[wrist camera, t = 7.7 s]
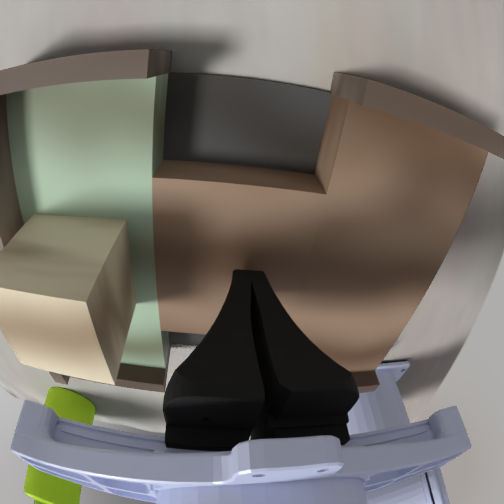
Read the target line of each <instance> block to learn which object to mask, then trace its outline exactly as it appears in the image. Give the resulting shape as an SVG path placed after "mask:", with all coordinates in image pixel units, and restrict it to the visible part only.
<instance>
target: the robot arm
mask: <svg viewBox="0 0 504 504" xmlns="http://www.w3.org/2000/svg"><path fill="white" fill-rule="evenodd" d="M409 366H410V363H409V362H408V361H403V362H394V363H383V364H380V365H379V366H378V367H377V369H376V370H375V372H376V375H377V378H378V380H379V383H380V385H379V386H378V388H377V389H376V390H375V391H374V392H365V393H359V391H358V387H357V384H356V382H355V379H354V377H353V375H352V373H351V372H350V371H348V370H347V369H345V368H344V367H342V366H341V365H339V364H338V363H336V362H335V361H334V360H332V359H331V358H330V357H329V356H327V355H326V354H325V353H324V352H322V351H321V350H320V349H319V348H318V347H317V346H316V345H315V344H314V343H313V342H312V341H311V340H310V339H309V338H308V337H307V336H306V335H305V334H304V333H303V332H302V331H301V329H300V328H299V327H298V326H297V325H296V323H295V322H294V321H293V320H292V318H291V317H290V315H289V314H288V313H287V311H286V310H285V308H284V307H283V305H282V304H281V302H280V300H279V299H278V297H277V296H276V294H275V292H274V290H273V289H272V287H271V285H270V283H269V281H268V279H267V277H266V275H265V273H264V272H263V271H254V270H240V269H235V270H234V271H233V273H232V282H231V286H230V289H229V292H228V294H227V297H226V300H225V302H224V304H223V306H222V308H221V310H220V312H219V314H218V316H217V318H216V320H215V321H214V323H213V325H212V326H211V328H210V330H209V331H208V332H207V334H206V335H205V337H204V338H203V340H202V341H201V342H200V344H199V345H198V346H197V347H196V348H195V350H194V351H193V352H192V353H191V354H190V355H189V357H188V358H187V359H186V360H185V361H184V362H183V363H182V364H181V365H180V366H179V367H178V368H177V369H176V370H175V371H174V373H173V375H172V377H171V379H170V381H169V383H168V386H167V388H166V391H165V395H164V401H163V413H164V417H165V421H166V432H165V437H158V436H151V435H143V434H136V433H130V432H125V431H118V430H113V429H109V428H104V427H99V426H94V425H90V424H85V423H81V422H77V421H73V420H69V419H66V418H62V417H58V415H57V414H56V412H55V411H54V410H53V409H51V408H50V407H48V406H45V405H42V404H39V403H35V402H32V401H29V400H25V401H24V404H23V407H22V410H21V413H20V416H19V419H18V423H17V426H16V429H15V433H14V437H13V440H12V444H11V448H10V450H11V451H12V452H13V453H14V454H16V455H17V456H18V457H20V458H21V459H22V460H24V461H25V462H27V463H28V464H30V465H31V466H33V467H34V468H36V469H37V470H40V471H42V472H45V473H48V474H51V475H53V476H56V477H59V478H62V479H65V480H68V481H71V482H74V483H77V484H80V485H84V486H87V487H90V488H93V489H97V490H100V491H104V492H108V493H112V494H115V495H120V496H124V497H128V498H133V499H137V500H142V501H147V502H153V503H157V504H449V499H448V495H447V491H446V488H445V484H444V480H443V477H442V473H441V470H440V467H441V466H443V465H445V464H446V463H448V462H450V461H451V460H453V459H455V458H456V457H458V456H459V455H461V454H462V453H464V452H465V451H467V450H468V449H470V448H471V443H470V440H469V437H468V435H467V432H466V429H465V427H464V424H463V421H462V419H461V416H460V414H459V411H458V409H457V406H452V407H449V408H446V409H442V410H439V411H437V412H435V413H434V414H433V415H432V416H431V417H429V419H427V420H423V421H419V422H415V423H411V424H410V421H409V418H408V415H407V412H406V409H405V406H404V403H403V400H402V397H401V395H400V392H399V389H398V386H397V383H396V382H397V381H398V380H399V379H400V378H401V376H402V375H403V374H404V373H405V371H406V370H407V369H408V368H409ZM250 435H251V440H249V437H250Z"/></svg>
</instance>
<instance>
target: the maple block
mask: <svg viewBox="0 0 504 504" xmlns="http://www.w3.org/2000/svg"><path fill="white" fill-rule="evenodd" d="M135 307H136V297H135V290H134V283H133V275H132V267H131V259H130V249H129V239H128V228H127V220H126V219H111V218H95V217H78V216H61V215H41V214H33V215H32V217H31V218H30V219H29V220H28V221H27V222H26V223H25V224H24V225H23V226H22V228H21V229H20V230H19V231H18V232H17V233H16V234H15V236H14V237H13V238H12V239H11V240H10V241H9V243H8V244H7V245H6V246H5V247H4V249H3V250H2V251H1V252H0V329H1V331H2V333H3V334H4V336H5V338H6V339H7V341H8V343H9V344H10V346H11V348H12V349H13V351H14V353H15V354H16V356H17V357H18V359H19V360H20V362H21V364H25V365H28V366H32V367H35V368H39V369H43V370H46V371H50V372H54V373H58V374H63V375H67V376H71V377H76V378H81V379H85V380H90V381H96V382H101V383H106V384H112V385H115V384H116V379H117V375H118V371H119V367H120V362H121V358H122V354H123V351H124V347H125V343H126V339H127V335H128V332H129V328H130V324H131V321H132V317H133V314H134V310H135Z"/></svg>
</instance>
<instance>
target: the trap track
mask: <svg viewBox="0 0 504 504" xmlns="http://www.w3.org/2000/svg"><path fill="white" fill-rule="evenodd" d="M171 56H172V51H165V50H154V49H139V50H120V51H107V52H97V53H88V54H80V55H72V56H66V57H60V58H54V59H48V60H43V61H38V62H33V63H29V64H24V65H20V66H16V67H12V68H8V69H4V70H1V71H0V252H1V251H2V250H3V249H4V247H5V246H6V245H7V244H8V243H9V241H10V240H11V239H12V238H13V237H14V236H15V234H16V233H17V232H18V231H19V230H20V229H21V228H22V226H23V225H24V224H25V223H26V222H27V221H28V220H29V219H30V218H31V217H32V215H33V214H41V215H61V216H78V217H95V218H111V219H126V220H127V228H128V239H129V249H130V259H131V267H132V275H133V283H134V290H135V297H136V307H135V310H134V314H133V317H132V321H131V324H130V328H129V332H128V335H127V339H126V343H125V347H124V351H123V354H122V358H121V362H120V367H119V371H118V375H117V379H116V384H115V386H121V387H127V388H134V389H141V390H149V391H157V392H165V386H166V378H167V371H168V363H169V356H170V349H171V347H170V343H173V344H184V345H197V346H198V345H199V344H200V342H201V341H202V340H203V338H204V337H205V335H206V334H207V332H208V331H209V330H210V328H211V326H212V325H213V323H214V321H215V320H216V318H217V316H218V314H219V312H220V310H221V308H222V306H223V304H224V302H225V300H226V297H227V294H228V292H229V289H230V286H231V282H232V273H233V271H234V270H235V269H240V270H254V271H263V272H264V273H265V275H266V277H267V279H268V281H269V283H270V285H271V287H272V289H273V290H274V292H275V294H276V296H277V297H278V299H279V300H280V302H281V304H282V305H283V307H284V308H285V310H286V311H287V313H288V314H289V315H290V317H291V318H292V320H293V321H294V322H295V323H296V325H297V326H298V327H299V328H300V329H301V331H302V332H303V333H304V334H305V335H306V336H307V337H308V338H309V339H310V340H311V341H312V342H313V343H314V344H315V345H316V346H317V347H318V348H319V349H320V350H321V351H322V352H324V353H325V354H326V355H327V356H329V357H330V358H331V359H332V360H334V361H335V362H336V363H338V364H339V365H341V366H342V367H344V368H345V369H347V370H348V371H350V372H351V373H352V375H353V377H354V379H355V382H356V384H357V387H358V391H359V393H365V392H374V391H375V390H376V389H377V388H378V386H379V385H380V383H379V380H378V378H377V375H376V372H375V370H376V369H377V367H378V366H379V365H380V363H381V362H382V360H383V359H384V357H385V356H386V355H387V353H388V352H389V350H390V349H391V347H392V346H393V344H394V343H395V341H396V340H397V338H398V337H399V335H400V334H401V332H402V331H403V329H404V328H405V326H406V325H407V323H408V321H409V320H410V318H411V317H412V315H413V313H414V312H415V310H416V308H417V307H418V305H419V303H420V302H421V300H422V298H423V297H424V295H425V293H426V291H427V290H428V288H429V286H430V284H431V282H432V281H433V279H434V277H435V275H436V273H437V271H438V270H439V268H440V266H441V264H442V262H443V260H444V258H445V256H446V254H447V252H448V250H449V248H450V246H451V244H452V242H453V240H454V237H455V235H456V233H457V231H458V229H459V227H460V224H461V222H462V220H463V218H464V215H465V213H466V211H467V208H468V206H469V204H470V201H471V199H472V196H473V194H474V191H475V188H476V186H477V183H478V181H479V178H480V175H481V172H482V170H483V167H484V164H485V161H486V158H487V155H488V152H490V153H492V154H494V155H497V156H499V157H501V158H503V159H504V136H502V135H501V134H499V133H497V132H495V131H493V130H491V129H490V128H488V127H486V126H484V125H482V124H480V123H478V122H476V121H474V120H472V119H470V118H468V117H466V116H464V115H462V114H460V113H457V112H455V111H453V110H451V109H449V108H446V107H444V106H442V105H439V104H437V103H435V102H432V101H430V100H427V99H425V98H422V97H420V96H417V95H414V94H412V93H409V92H406V91H404V90H401V89H398V88H395V87H392V86H389V85H386V84H383V83H380V82H377V81H373V80H370V79H367V78H362V77H358V76H353V75H348V74H343V73H338V72H334V75H333V80H332V86H331V91H330V92H326V91H322V90H317V89H312V88H307V87H302V86H297V85H291V84H285V83H279V82H272V81H265V80H258V79H250V78H242V77H232V76H221V75H208V74H191V73H170V65H171ZM49 373H50V374H51V376H52V377H53V379H54V380H55V382H58V383H62V384H66V385H67V384H68V381H69V378H70V377H71V376H67V375H63V374H58V373H54V372H50V371H49ZM74 378H76V377H74ZM78 379H81V378H78ZM83 380H85V379H83ZM88 381H90V380H88ZM93 382H96V381H93ZM98 383H101V382H98ZM103 384H106V383H103ZM109 385H112V384H109Z"/></svg>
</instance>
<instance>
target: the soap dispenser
mask: <svg viewBox="0 0 504 504" xmlns="http://www.w3.org/2000/svg"><path fill="white" fill-rule="evenodd" d="M44 405H45V406H48V407H50V408H51V409H53V410H54V411H55V412H56V414H57V415H58V417H62V418H66V419H69V420H73V421H77V422H81V423H85V424H90V425H92V423H93V419H94V414H95V410H96V409H95V406H94V405H93V404H92V403H91V402H90V401H89V400H88V399H86V398H85V397H83V396H81V395H79V394H77V393H75V392H73V391H70V390H67V389H64V388H58V387H53V388H50V389H49V391H48V395H47V398H46V401H45V404H44ZM81 486H82V485H80V484H77V483H74V482H71V481H68V480H65V479H62V478H59V477H56V476H53V475H51V474H48V473H45V472H42V471H40V470H37V469H36V468H34V467H33V466H31V465H30V464H29V466H28V470H27V475H26V480H25V486H24V492H25V493H26V494H27V495H29V496H30V497H32V498H33V499H35V501H34V504H79V501H80V493H81Z"/></svg>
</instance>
